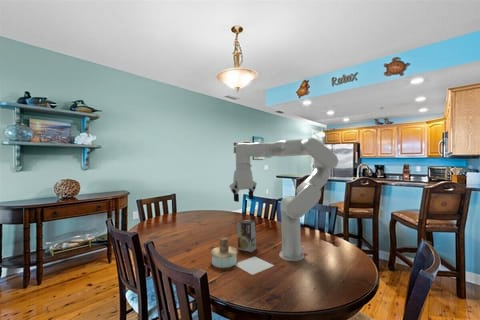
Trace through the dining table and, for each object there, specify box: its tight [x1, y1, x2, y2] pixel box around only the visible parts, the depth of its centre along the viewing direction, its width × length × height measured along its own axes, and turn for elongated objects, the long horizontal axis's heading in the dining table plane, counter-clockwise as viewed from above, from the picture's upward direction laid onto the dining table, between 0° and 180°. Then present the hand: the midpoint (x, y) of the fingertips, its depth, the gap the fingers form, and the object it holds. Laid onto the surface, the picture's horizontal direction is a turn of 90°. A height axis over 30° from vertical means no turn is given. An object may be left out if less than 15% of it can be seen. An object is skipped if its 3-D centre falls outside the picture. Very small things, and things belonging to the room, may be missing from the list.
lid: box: [210, 237, 238, 258], centre depth 119 cm, size 13×13×7 cm
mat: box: [234, 256, 275, 276], centre depth 115 cm, size 14×14×1 cm
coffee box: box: [236, 219, 257, 253], centre depth 136 cm, size 9×6×16 cm
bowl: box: [211, 254, 238, 269], centre depth 119 cm, size 12×12×5 cm
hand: (243, 200), depth 123 cm, fingers open, 9 cm apart
